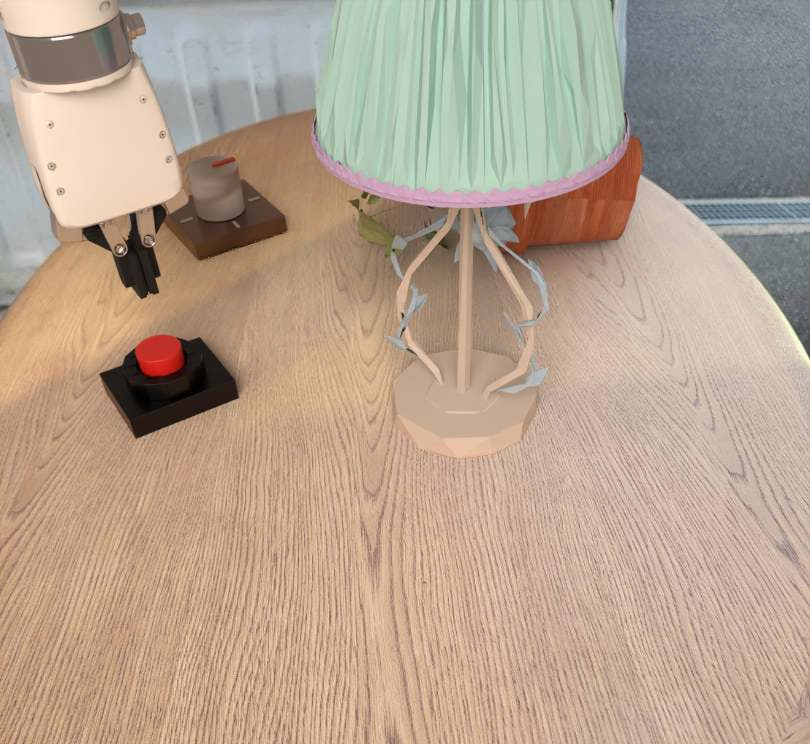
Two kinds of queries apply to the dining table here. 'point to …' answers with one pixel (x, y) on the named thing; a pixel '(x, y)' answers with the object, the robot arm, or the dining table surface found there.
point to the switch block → (169, 389)
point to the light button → (160, 355)
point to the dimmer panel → (226, 225)
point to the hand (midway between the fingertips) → (144, 288)
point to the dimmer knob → (216, 188)
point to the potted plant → (554, 211)
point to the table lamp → (469, 166)
